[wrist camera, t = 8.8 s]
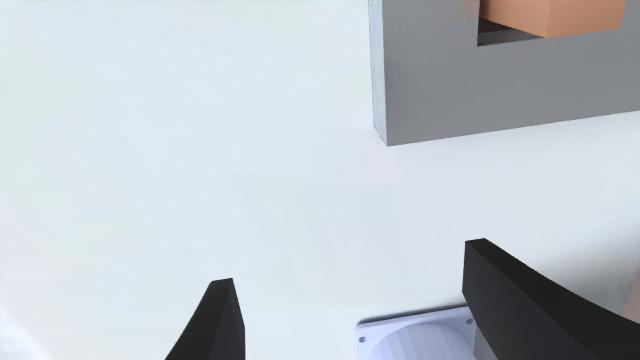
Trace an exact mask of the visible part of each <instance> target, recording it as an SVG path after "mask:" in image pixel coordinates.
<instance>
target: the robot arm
mask: <svg viewBox="0 0 640 360" xmlns="http://www.w3.org/2000/svg"><path fill="white" fill-rule="evenodd" d="M462 293H463V295H464V297H465V300H466V302H467V304H468V306H467V307H461V308H455V309H449V310H443V311H437V312H431V313H425V314H419V315H413V316H407V317H401V318H395V319H389V320H383V321H377V322H371V323H365V324H360V325H357V326H356V327H355V328H354V341H355V352H356V360H476V358H475V356H474V348H475V337H476V326H477V325H478V327H479V329H480V330H481V332H482V334H483V335H484V337H485V339H486V340H487V342H488V344H489V345H490V347H491V349H492V350H493V352H494V354H495V355H496V357H497V359H498V360H640V324H638V323H636V322H634V321H631V320H628V319H626V318H624V317H622V316H619V315H617V314H615V313H613V312H611V311H609V310H607V309H604V308H602V307H600V306H598V305H596V304H594V303H592V302H590V301H588V300H586V299H584V298H582V297H580V296H578V295H576V294H575V293H573V292H571V291H569V290H567V289H566V288H564V287H562V286H560V285H558V284H557V283H555V282H553V281H552V280H550V279H548V278H547V277H545V276H543V275H542V274H540V273H538V272H537V271H535V270H534V269H532V268H530V267H529V266H527V265H526V264H524V263H523V262H521V261H519V260H518V259H516V258H515V257H513V256H512V255H510V254H509V253H507V252H506V251H504V250H503V249H501V248H500V247H498V246H497V245H495V244H493V243H492V242H490V241H489V240H487V239H485V238H482V239H475V240H469V241H465V255H464V270H463V285H462ZM468 319H469V320H468ZM360 337H363V338H360ZM165 360H245V326H244V322H243V318H242V314H241V310H240V306H239V302H238V298H237V294H236V290H235V287H234V283H233V279H232V278H228V279H222V280H216V281H212V282H211V283H210V284H209V286H208V288H207V290H206V292H205V294H204V296H203V297H202V299H201V301H200V303H199V305H198V307H197V309H196V310H195V312H194V314H193V316H192V318H191V319H190V321H189V323H188V324H187V326H186V328H185V329H184V331H183V333H182V334H181V336H180V337H179V339H178V341H177V342H176V344H175V345H174V347H173V348H172V350H171V351H170V353H169V354H168V355H167V357H166V358H165Z"/></svg>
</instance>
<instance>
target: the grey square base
mask: <svg viewBox="0 0 640 360" xmlns="http://www.w3.org/2000/svg"><path fill="white" fill-rule="evenodd" d="M479 4H480V0H368V6H369V28H370V49H371V70H372V91H373V112H374V127H375V129H376V131H377V132H378V134H379V135H380V137H381V138H382V140H383V141H384V143H385V145H386V146H387V147H388V146H395V145H402V144H408V143H415V142H422V141H429V140H436V139H443V138H450V137H457V136H464V135H471V134H478V133H485V132H492V131H499V130H506V129H513V128H520V127H527V126H534V125H541V124H548V123H554V122H561V121H568V120H575V119H582V118H589V117H596V116H603V115H610V114H617V113H624V112H631V111H638V110H640V0H626V1H625V6H624V11H623V16H622V20H621V25H620V28H618V29H611V30H603V31H595V32H588V33H580V34H573V35H565V36H558V37H550V38H544V37H541V36H537V35H534V34H531V33H528V32H524V31H521V30H518V29H515V28H514V29H506V30H498V31H491V32H483V33H478V20H479Z"/></svg>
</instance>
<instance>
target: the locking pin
mask: <svg viewBox="0 0 640 360" xmlns="http://www.w3.org/2000/svg"><path fill="white" fill-rule="evenodd" d="M625 1H626V0H480V4H479V18H482V19H485V20H489V21H492V22H495V23H498V24H502V25H505V26H508V27H511V28H515V29H518V30H521V31H524V32H528V33H531V34H534V35H537V36H541V37H544V38H550V37H558V36H565V35H573V34H580V33H588V32H595V31H603V30H611V29H618V28H620V25H621V20H622V16H623V11H624V6H625Z"/></svg>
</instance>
